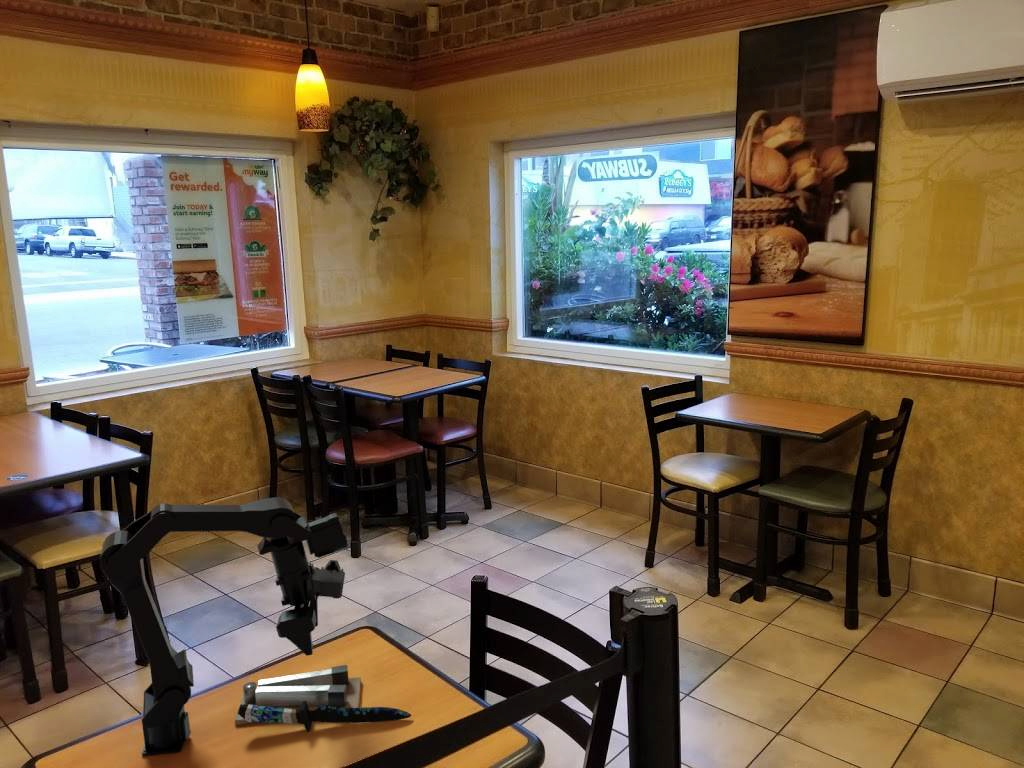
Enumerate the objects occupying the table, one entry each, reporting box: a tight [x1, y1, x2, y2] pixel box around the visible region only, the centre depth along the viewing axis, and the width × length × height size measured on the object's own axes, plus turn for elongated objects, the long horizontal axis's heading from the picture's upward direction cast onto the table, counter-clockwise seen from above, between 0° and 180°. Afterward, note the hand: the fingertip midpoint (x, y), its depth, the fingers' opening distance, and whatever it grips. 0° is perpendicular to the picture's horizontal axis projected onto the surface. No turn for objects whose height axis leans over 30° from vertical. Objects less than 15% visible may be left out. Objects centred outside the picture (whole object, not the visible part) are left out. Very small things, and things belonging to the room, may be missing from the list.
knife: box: [237, 701, 412, 733], centre depth 139 cm, size 31×3×4 cm, turn 93°
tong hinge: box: [242, 681, 258, 705], centre depth 144 cm, size 2×2×3 cm
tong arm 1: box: [255, 685, 347, 707], centre depth 143 cm, size 16×2×3 cm, turn 91°
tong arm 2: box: [257, 664, 349, 687], centre depth 148 cm, size 16×2×3 cm, turn 105°
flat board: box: [234, 676, 362, 726], centre depth 146 cm, size 22×10×1 cm, turn 98°
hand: (312, 640), depth 143 cm, fingers open, 9 cm apart
